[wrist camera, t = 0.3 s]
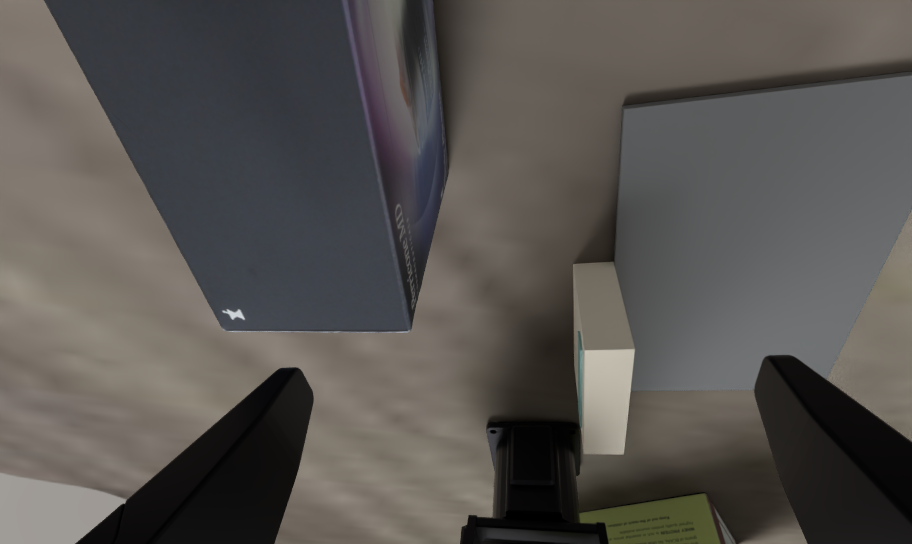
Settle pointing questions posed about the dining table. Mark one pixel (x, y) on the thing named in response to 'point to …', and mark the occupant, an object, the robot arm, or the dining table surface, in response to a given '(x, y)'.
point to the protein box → (663, 522)
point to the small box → (280, 147)
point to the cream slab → (601, 358)
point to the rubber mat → (757, 224)
